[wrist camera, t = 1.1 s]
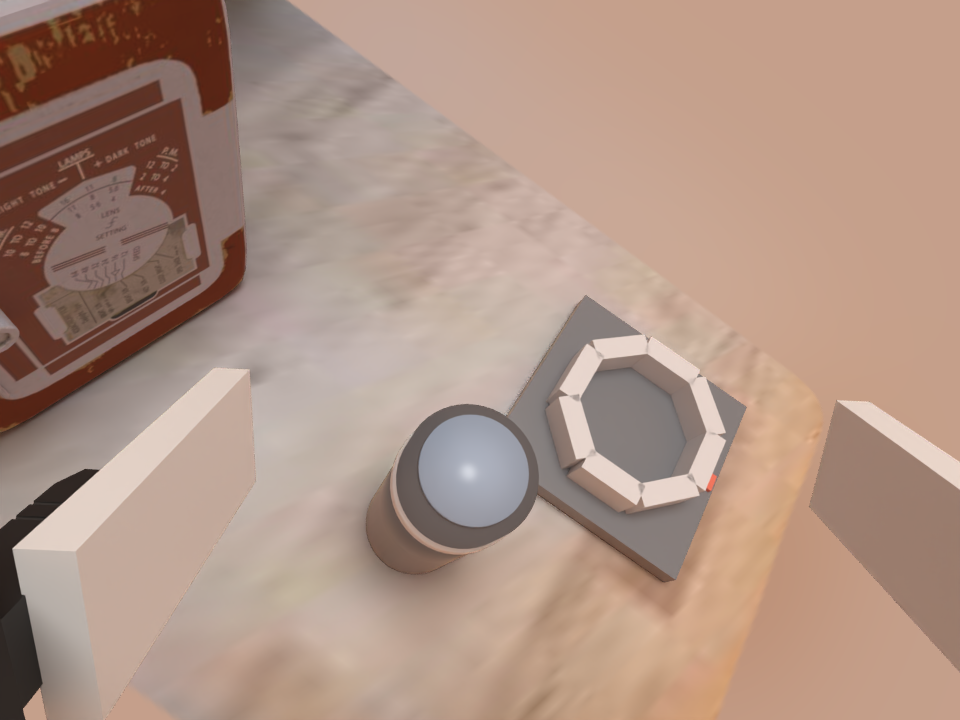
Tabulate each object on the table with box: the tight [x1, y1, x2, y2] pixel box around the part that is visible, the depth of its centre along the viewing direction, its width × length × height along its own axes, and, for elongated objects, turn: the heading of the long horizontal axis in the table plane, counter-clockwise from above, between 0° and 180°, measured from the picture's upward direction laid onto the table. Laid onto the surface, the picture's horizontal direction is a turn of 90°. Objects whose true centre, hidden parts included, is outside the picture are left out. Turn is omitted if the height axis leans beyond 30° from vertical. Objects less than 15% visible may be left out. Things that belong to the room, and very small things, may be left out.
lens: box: [366, 404, 539, 574], centre depth 28 cm, size 5×5×11 cm
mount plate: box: [506, 295, 746, 582], centre depth 37 cm, size 12×12×3 cm
